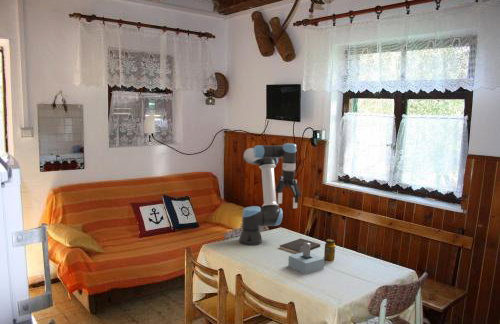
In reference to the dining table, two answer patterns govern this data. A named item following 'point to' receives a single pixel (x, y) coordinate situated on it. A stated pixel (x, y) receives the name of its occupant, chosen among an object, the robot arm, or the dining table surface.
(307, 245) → the long pin
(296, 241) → the hardcover book
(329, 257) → the condiment
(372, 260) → the dining table surface
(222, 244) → the dining table surface
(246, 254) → the dining table surface
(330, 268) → the dining table surface
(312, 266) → the hole block
